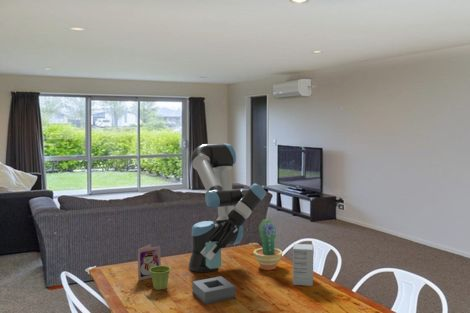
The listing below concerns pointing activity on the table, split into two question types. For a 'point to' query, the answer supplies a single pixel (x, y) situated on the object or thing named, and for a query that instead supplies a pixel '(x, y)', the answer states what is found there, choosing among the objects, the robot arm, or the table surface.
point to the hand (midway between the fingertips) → (205, 256)
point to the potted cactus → (267, 246)
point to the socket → (213, 290)
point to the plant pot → (160, 276)
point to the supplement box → (303, 264)
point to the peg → (216, 260)
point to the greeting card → (148, 260)
